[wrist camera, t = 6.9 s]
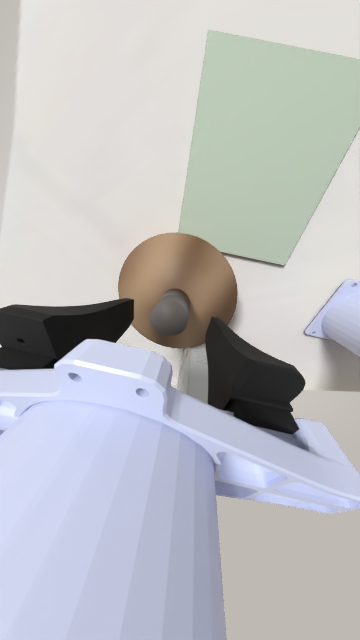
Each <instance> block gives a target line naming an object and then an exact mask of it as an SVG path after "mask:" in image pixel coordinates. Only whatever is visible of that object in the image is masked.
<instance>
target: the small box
mask: <svg viewBox="0 0 360 640" xmlns="http://www.w3.org/2000/svg"><path fill="white" fill-rule="evenodd" d="M177 390H179V391H181V392H184V393H186V394H188V395H190V396H192V397H194V398H196V399H198V400H200V401H202V402H204V403H207V404H208V362H207V354H206V346H205V343H204V344H202V345H199V346H195V347H191V348H186V349H185V352H184V354H183V357H182V360H181V363H180V368H179V375H178V384H177Z"/></svg>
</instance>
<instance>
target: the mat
mask: <svg viewBox="0 0 360 640" xmlns="http://www.w3.org/2000/svg"><path fill="white" fill-rule="evenodd" d="M359 128H360V59H356V58H351V57H346V56H340V55H335V54H330V53H325V52H320V51H315V50H310V49H305V48H300V47H294V46H289V45H284V44H279V43H274V42H269V41H264V40H259V39H254V38H249V37H243V36H238V35H233V34H228V33H223V32H218V31H213V30H208V34H207V41H206V48H205V55H204V61H203V68H202V75H201V82H200V88H199V95H198V102H197V109H196V115H195V122H194V129H193V136H192V142H191V149H190V156H189V163H188V169H187V176H186V183H185V190H184V197H183V203H182V210H181V217H180V224H179V230H178V233H184V234H190V235H193V236H196V237H199V238H201V239H203V240H205V241H207V242H208V243H210V244H211V245H213V246H214V247H215V248H216V249H218V250H219V251H220V252H224V253H229V254H233V255H238V256H243V257H247V258H252V259H257V260H261V261H266V262H271V263H276V264H280V265H285V264H286V262H287V260H288V258H289V257H290V255H291V253H292V251H293V249H294V247H295V245H296V244H297V242H298V240H299V238H300V236H301V234H302V233H303V231H304V229H305V227H306V225H307V223H308V222H309V220H310V218H311V216H312V214H313V212H314V211H315V209H316V207H317V205H318V203H319V201H320V200H321V198H322V196H323V194H324V192H325V190H326V188H327V187H328V185H329V183H330V181H331V179H332V177H333V176H334V174H335V172H336V170H337V168H338V166H339V165H340V163H341V161H342V159H343V157H344V155H345V154H346V152H347V150H348V148H349V146H350V144H351V142H352V141H353V139H354V137H355V135H356V133H357V131H358V130H359Z"/></svg>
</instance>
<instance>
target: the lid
mask: <svg viewBox="0 0 360 640" xmlns="http://www.w3.org/2000/svg"><path fill="white" fill-rule="evenodd" d="M118 292H119V299H123V298H129V299H134V320H133V321H132V323H131V324H132V326H133V327H134V328H135V329H136V330H137V331H138V332H139V333H140V334H142V335H143V336H144V337H146V338H147V339H149V340H151V341H153V342H155V343H157V344H159V345H162V346H166V347H171V348H191V347H195V346H199V345H202V344H204V343H205V335H206V332H207V329H208V326H209V323H210V320H211V317H216V318H219V319H220V320H222V321H223V322H224V323H225V324H226V325H228V323H229V322H230V320H231V318H232V316H233V314H234V311H235V308H236V303H237V283H236V279H235V275H234V273H233V270H232V268H231V266H230V264H229V263H228V261H227V260H226V258H225V257H224V256H223V255H222V253H221V252H220V251H219V250H218V249H216V248H215V247H214V246H213V245H211V244H210V243H208V242H207V241H205V240H203V239H201V238H199V237H196V236H193V235H190V234H184V233H165V234H160V235H157V236H154V237H151V238H149V239H147V240H146V241H144V242H142V243H141V244H140V245H138V246H137V247H136V248H135V249H134V250H133V251H132V252H131V253H130V254H129V256H128V257H127V259H126V260H125V262H124V264H123V267H122V269H121V272H120V276H119V282H118Z"/></svg>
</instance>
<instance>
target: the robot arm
mask: <svg viewBox="0 0 360 640" xmlns="http://www.w3.org/2000/svg"><path fill="white" fill-rule="evenodd" d="M352 285H353V286H352ZM133 320H134V299H129V298H123V299H118V300H113V301H109V302H103V303H98V304H92V305H83V306H66V307H49V306H30V305H10V306H7V307H4V308H1V309H0V344H1V346H2V347H1V348H0V640H226V627H225V613H224V600H223V586H222V572H221V560H220V559H221V558H220V547H219V531H218V519H217V504H216V495H219V496H225V497H232V498H239V499H245V500H252V501H259V502H266V503H272V504H278V505H285V506H291V507H295V508H301V509H306V510H311V511H315V512H320V513H324V514H333V513H339V512H345V511H351V510H357V509H360V475H359V473H358V472H357V471H356V469H355V468H354V466H353V465H352V463H351V462H350V461H349V459H348V458H347V457H346V455H345V454H344V452H343V451H342V449H341V448H340V447H339V445H338V444H337V443H336V441H335V440H334V438H333V437H332V435H331V434H330V433H329V431H328V430H327V428H326V427H325V426H324V424H323V423H320V422H316V421H312V420H307V419H303V418H296V419H294V418H293V416H292V415H291V413H290V412H292V411H293V408H292V406H291V405H290V402H291V401H292V400H293V399H294V398H295V397H297V396H298V395H299V394H300V393H301V391H302V390H303V389H304V386H305V379H304V378H303V376H302V375H301V374H300V373H299V371H298V370H297V369H296V368H295V366H293V365H290V364H288V363H286V362H283V361H281V360H278V359H276V358H274V357H272V356H270V355H268V354H266V353H264V352H262V351H260V350H259V349H257V348H255V347H254V346H252V345H250V344H249V343H247V342H246V341H244V340H243V339H242V338H240V337H239V336H238V335H237V334H235V333H234V332H233V331H232V330H231V329H230V328H229V327H228V326H227V325H226V324H225V323H224V322H223V321H222V320H220V319H219V318H216V317H211V320H210V323H209V326H208V329H207V332H206V335H205V346H206V354H207V362H208V404H207V403H204V402H202V401H200V400H198V399H196V398H194V397H192V396H190V395H188V394H186V393H184V392H181V391H179V390H177V389H175V388H173V387H171V379H172V374H173V373H172V366H171V364H170V363H169V362H168V361H167V360H166V358H165V357H164V356H162V355H159V354H157V353H155V352H153V351H148V350H144V349H139V348H135V347H130V346H126V345H122V344H117V343H116V342H117V340H118V339H119V338H120V337H121V336H122V335H123V334H124V332H125V331H126V330H127V329H128V328H129V326H130V325H131V323H132V321H133ZM312 332H313V333H312ZM305 333H306V334H307V335H311V336H315V337H320V338H324V339H329V340H334V341H336V342H338V343H339V344H341V345H342V346H344V347H345V348H347V349H348V350H350V351H351V352H352V353H354V354H355V355H357V356H358V357H360V281H356V280H351V279H349V280H346V281H344V282H343V284H342V285H341V286H340V287H339V289H338V290H337V291H336V292H335V294H334V295H333V296H332V297H331V299H330V300H329V301H328V302H327V304H326V305H325V306H324V307H323V309H322V310H321V311H320V312H319V314H318V315H317V316H316V317H315V319H314V320H313V321H312V322H311V324H310V325H309V326H308V327H307V329H306V330H305Z"/></svg>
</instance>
